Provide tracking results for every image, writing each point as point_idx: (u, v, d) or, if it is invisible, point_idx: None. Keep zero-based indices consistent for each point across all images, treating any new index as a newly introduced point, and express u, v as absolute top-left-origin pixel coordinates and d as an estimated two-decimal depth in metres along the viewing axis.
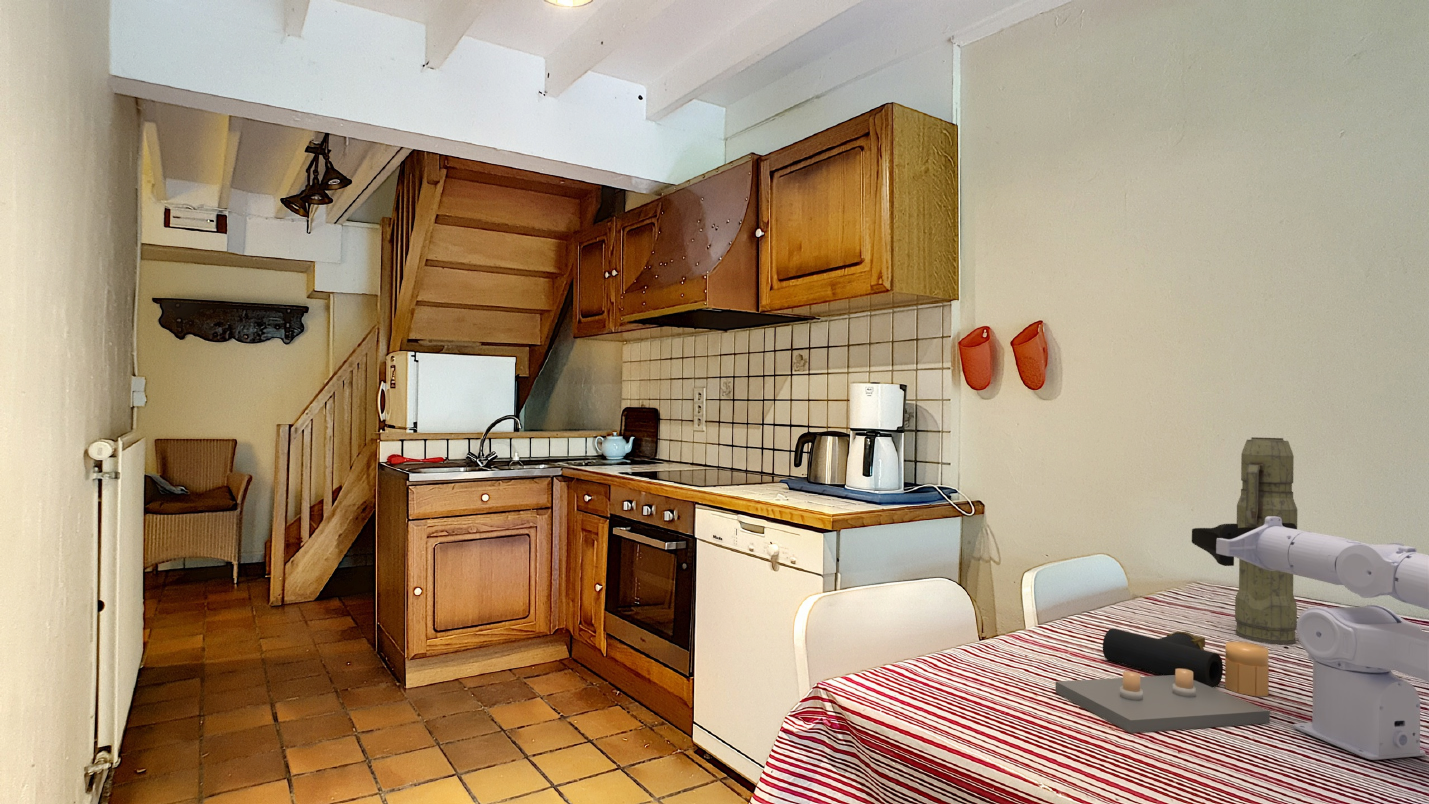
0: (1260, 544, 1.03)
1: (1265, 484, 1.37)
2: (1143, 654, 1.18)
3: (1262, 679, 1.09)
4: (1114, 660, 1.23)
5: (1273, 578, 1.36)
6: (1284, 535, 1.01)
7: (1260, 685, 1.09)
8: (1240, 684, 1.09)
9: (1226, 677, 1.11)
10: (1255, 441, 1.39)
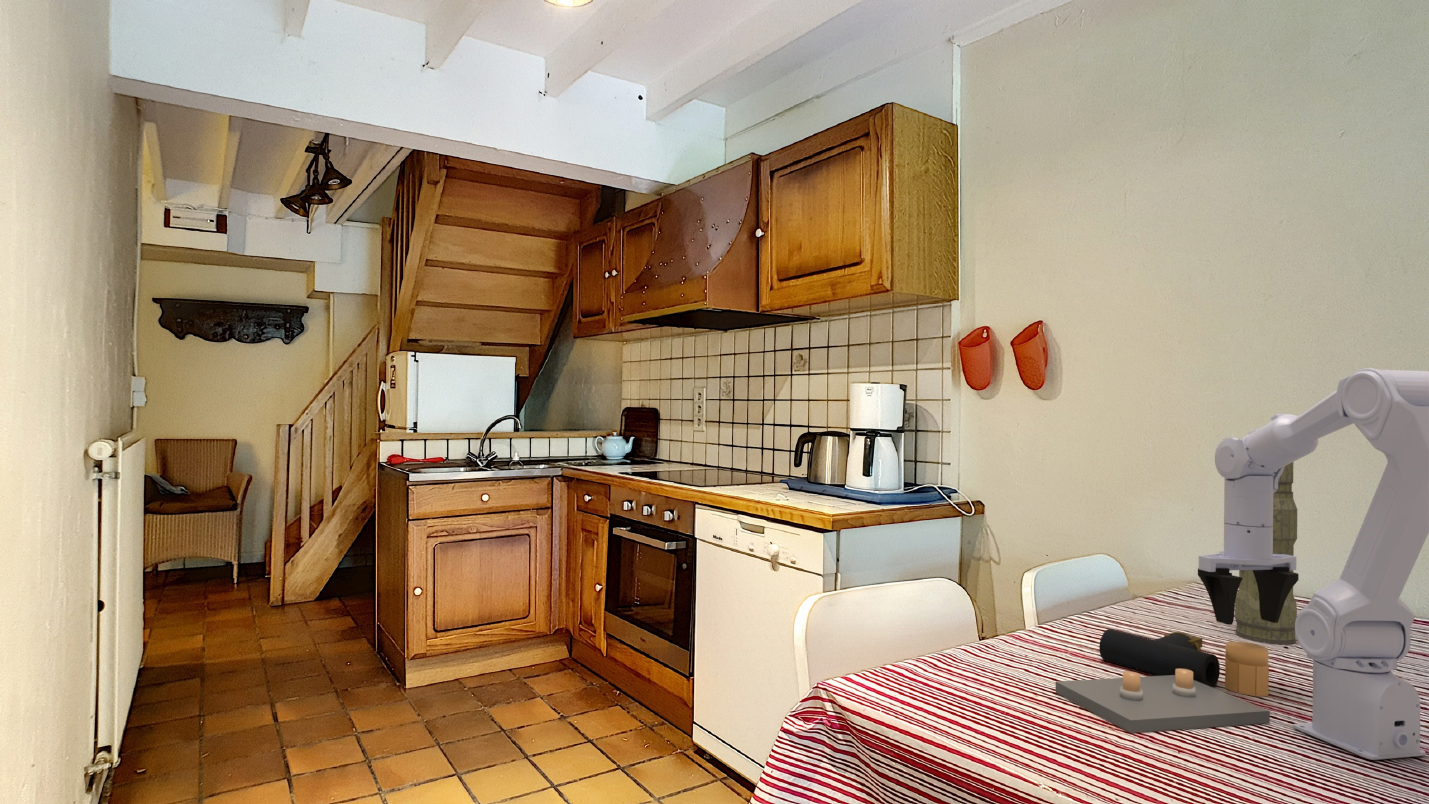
0: (1227, 552, 1.11)
1: None
2: (1140, 655, 1.18)
3: (1262, 679, 1.09)
4: (1111, 661, 1.22)
5: None
6: (1224, 532, 1.13)
7: (1260, 685, 1.09)
8: (1240, 684, 1.09)
9: (1226, 677, 1.11)
10: None
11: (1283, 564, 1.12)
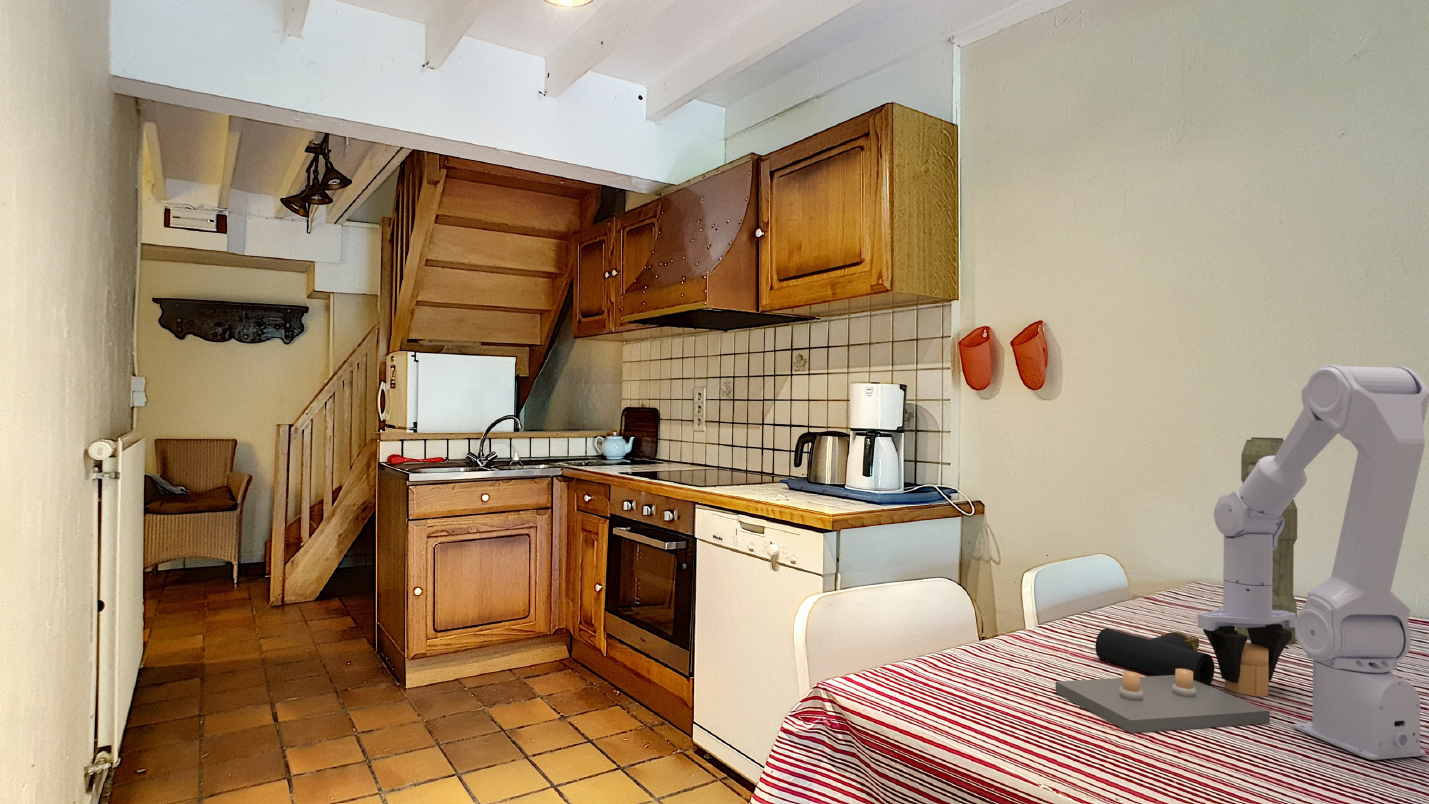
0: (1227, 609, 1.11)
1: None
2: (1135, 654, 1.18)
3: (1262, 679, 1.09)
4: (1106, 660, 1.23)
5: (1273, 578, 1.36)
6: (1223, 588, 1.13)
7: (1260, 685, 1.09)
8: (1240, 684, 1.09)
9: None
10: (1255, 441, 1.39)
11: (1282, 621, 1.12)
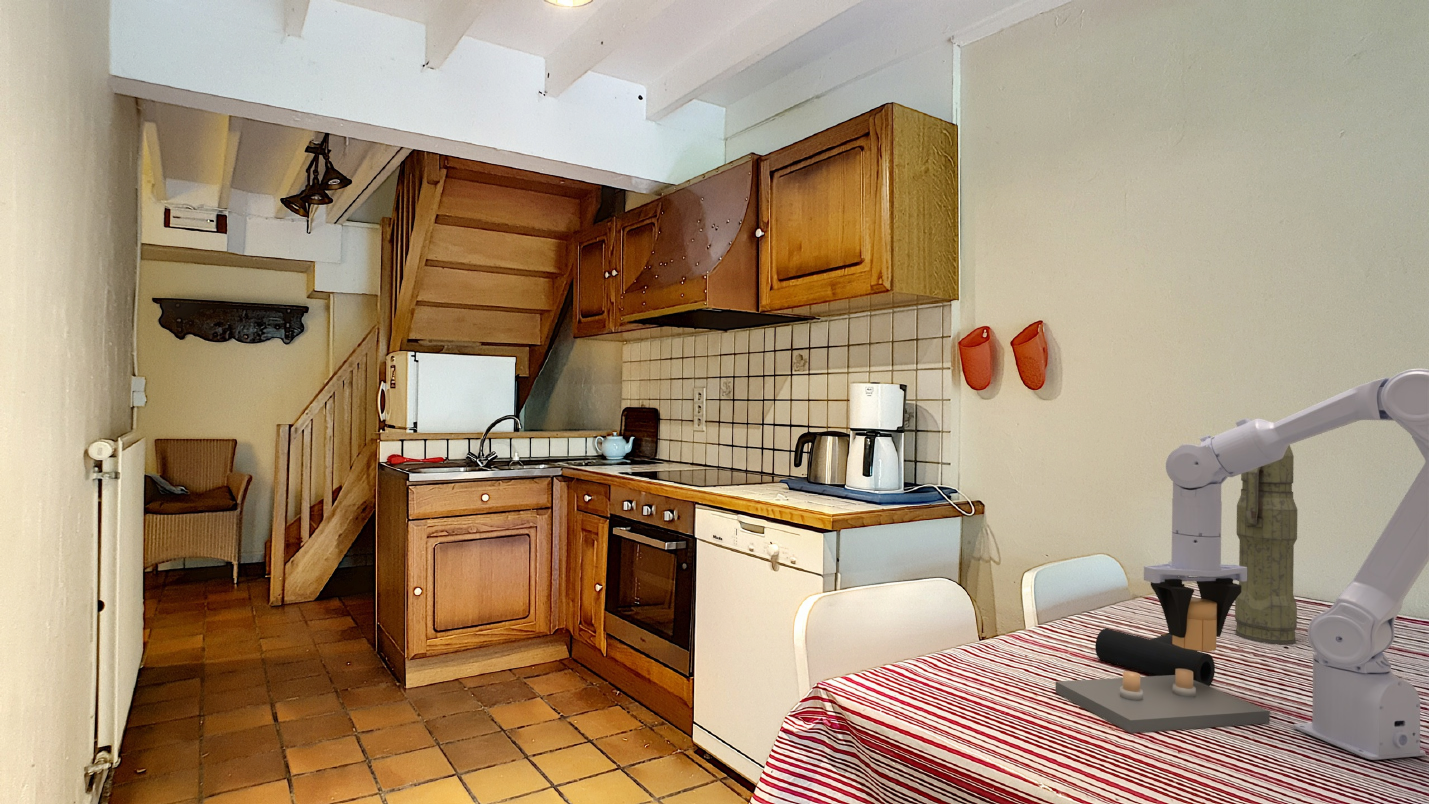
0: (1174, 562, 1.07)
1: (1265, 484, 1.37)
2: (1135, 654, 1.18)
3: (1209, 633, 1.05)
4: (1107, 660, 1.23)
5: (1273, 578, 1.36)
6: None
7: (1207, 640, 1.05)
8: (1187, 639, 1.06)
9: None
10: None
11: (1233, 575, 1.08)
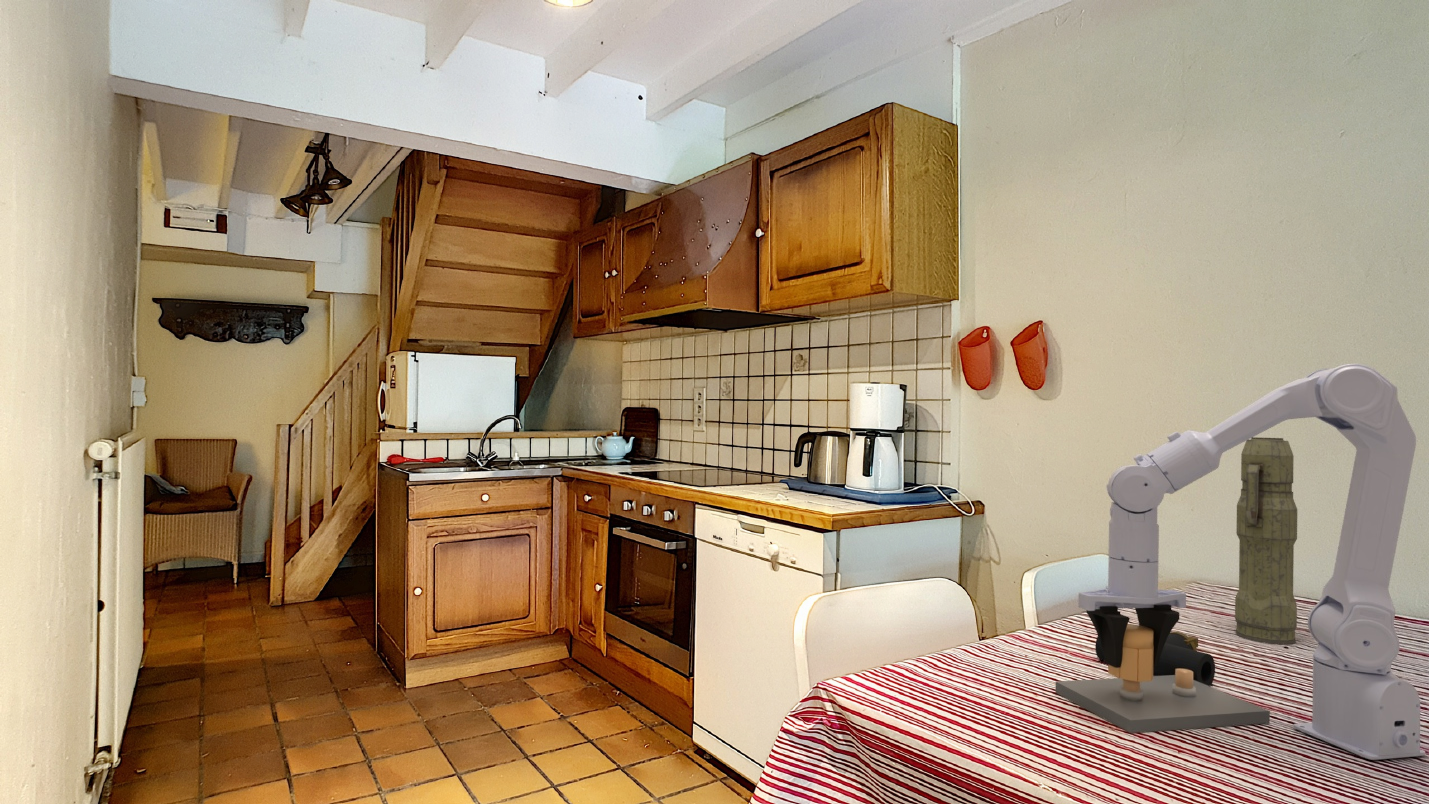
0: (1110, 588, 1.03)
1: (1265, 484, 1.37)
2: None
3: (1145, 663, 1.00)
4: None
5: (1273, 578, 1.36)
6: None
7: (1143, 669, 1.00)
8: (1122, 668, 1.01)
9: None
10: (1255, 441, 1.39)
11: (1172, 601, 1.04)
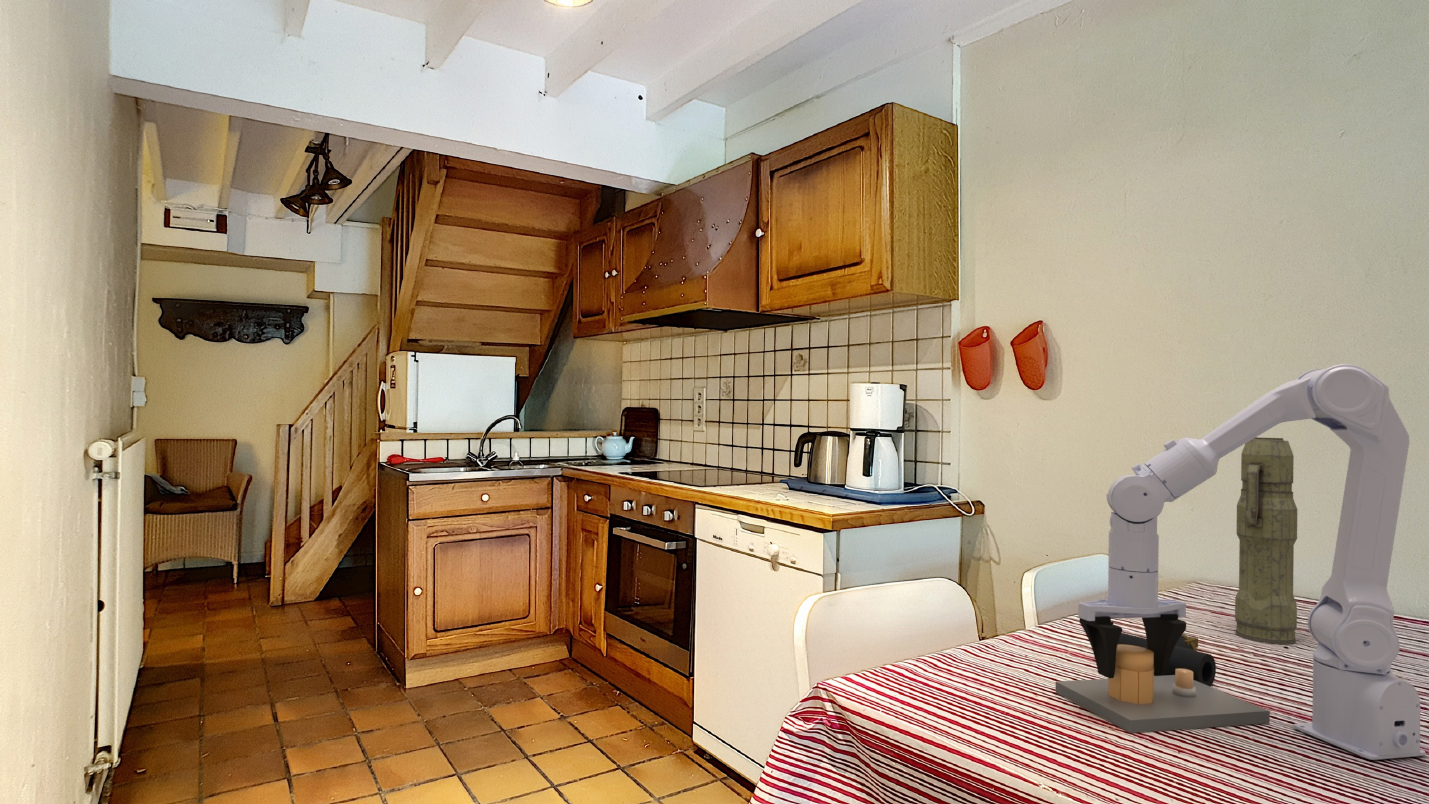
0: (1110, 598, 1.03)
1: (1265, 484, 1.37)
2: None
3: (1145, 685, 1.00)
4: None
5: (1273, 578, 1.36)
6: None
7: (1143, 692, 1.00)
8: (1122, 691, 1.01)
9: (1109, 683, 1.03)
10: (1255, 441, 1.39)
11: (1172, 611, 1.04)
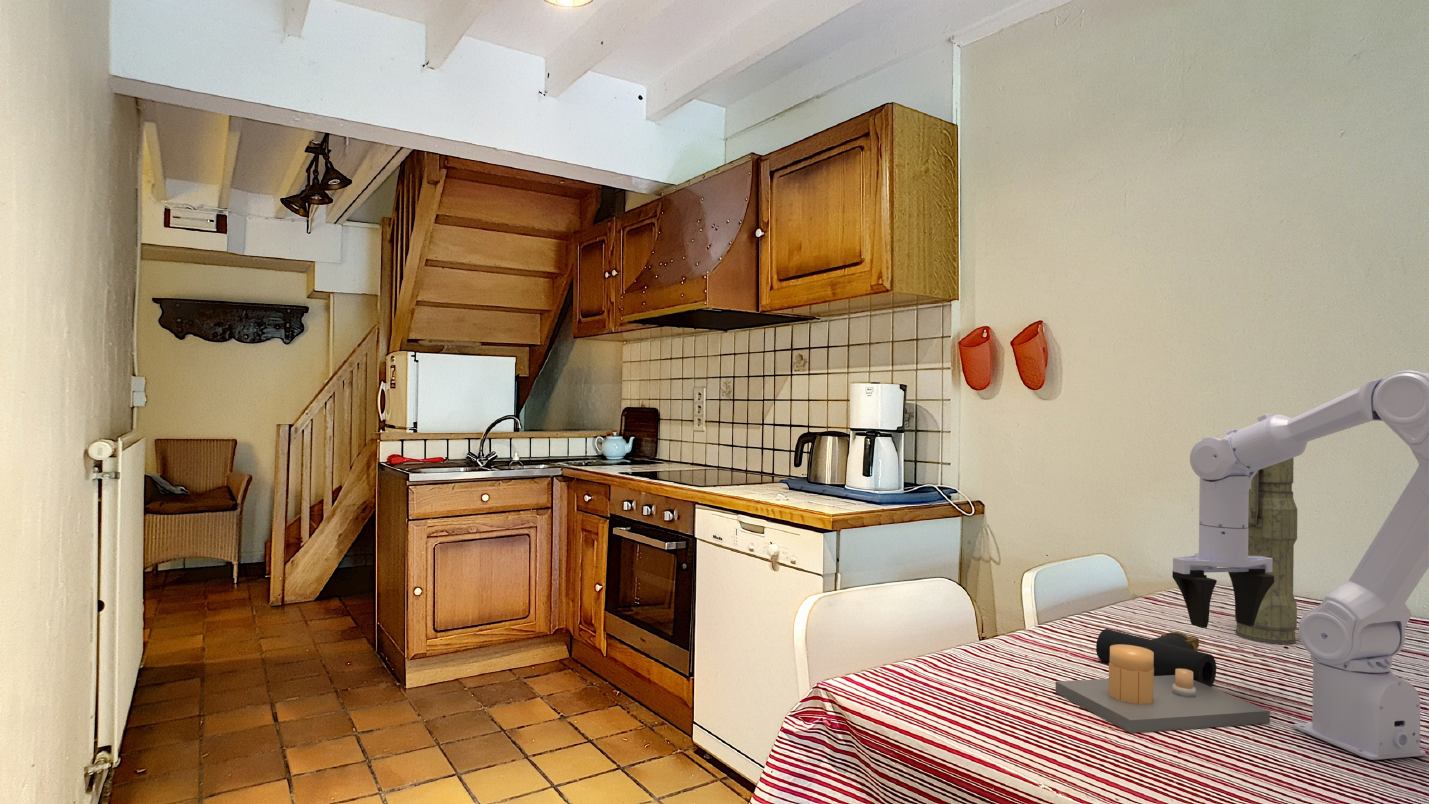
0: (1202, 553, 1.09)
1: (1265, 484, 1.37)
2: None
3: (1145, 685, 1.00)
4: (1107, 661, 1.22)
5: None
6: (1199, 533, 1.11)
7: (1143, 692, 1.00)
8: (1122, 691, 1.01)
9: (1109, 683, 1.03)
10: None
11: (1259, 566, 1.10)
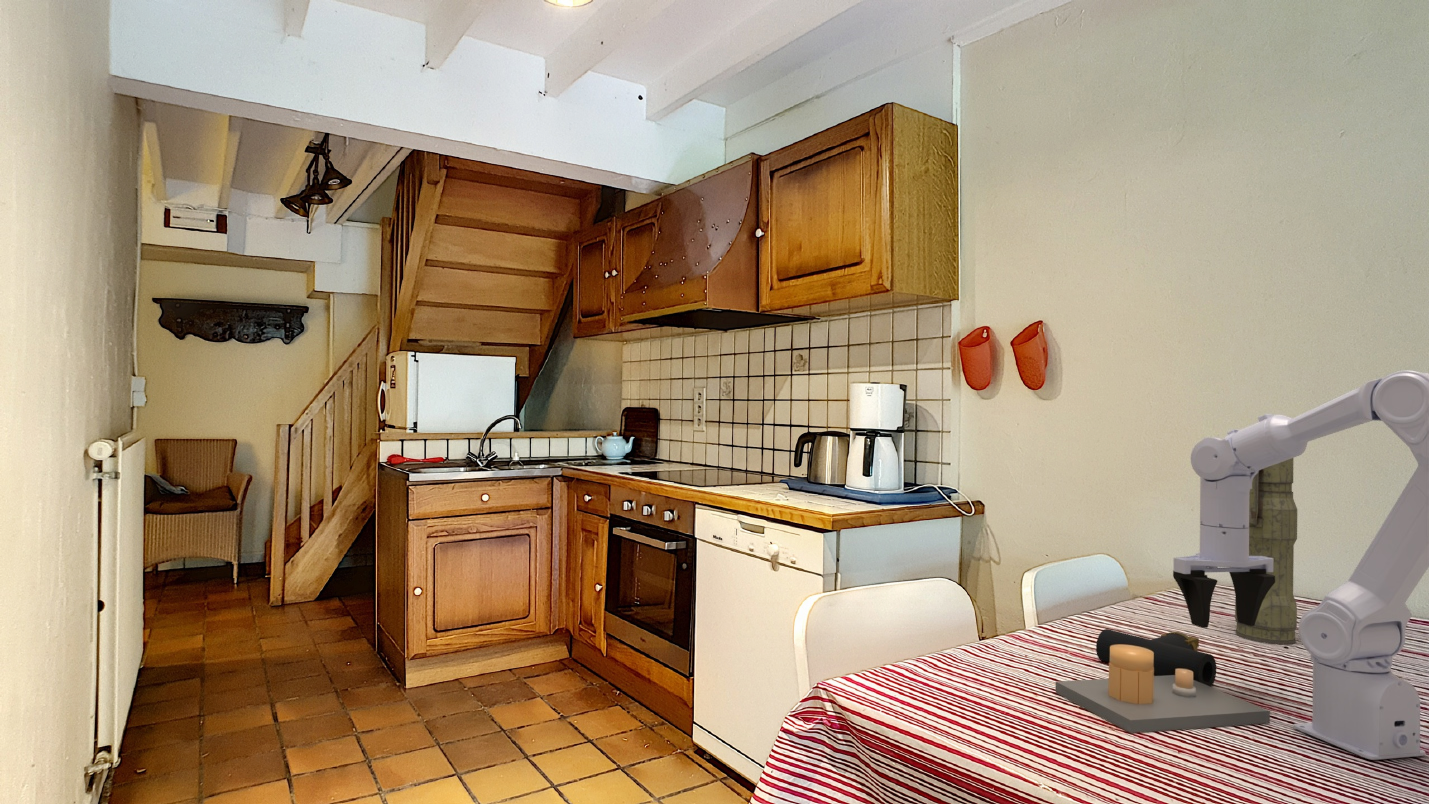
0: (1203, 553, 1.09)
1: (1265, 484, 1.37)
2: None
3: (1145, 685, 1.00)
4: (1107, 661, 1.22)
5: None
6: None
7: (1143, 692, 1.00)
8: (1122, 691, 1.01)
9: (1109, 683, 1.03)
10: None
11: (1260, 566, 1.10)
